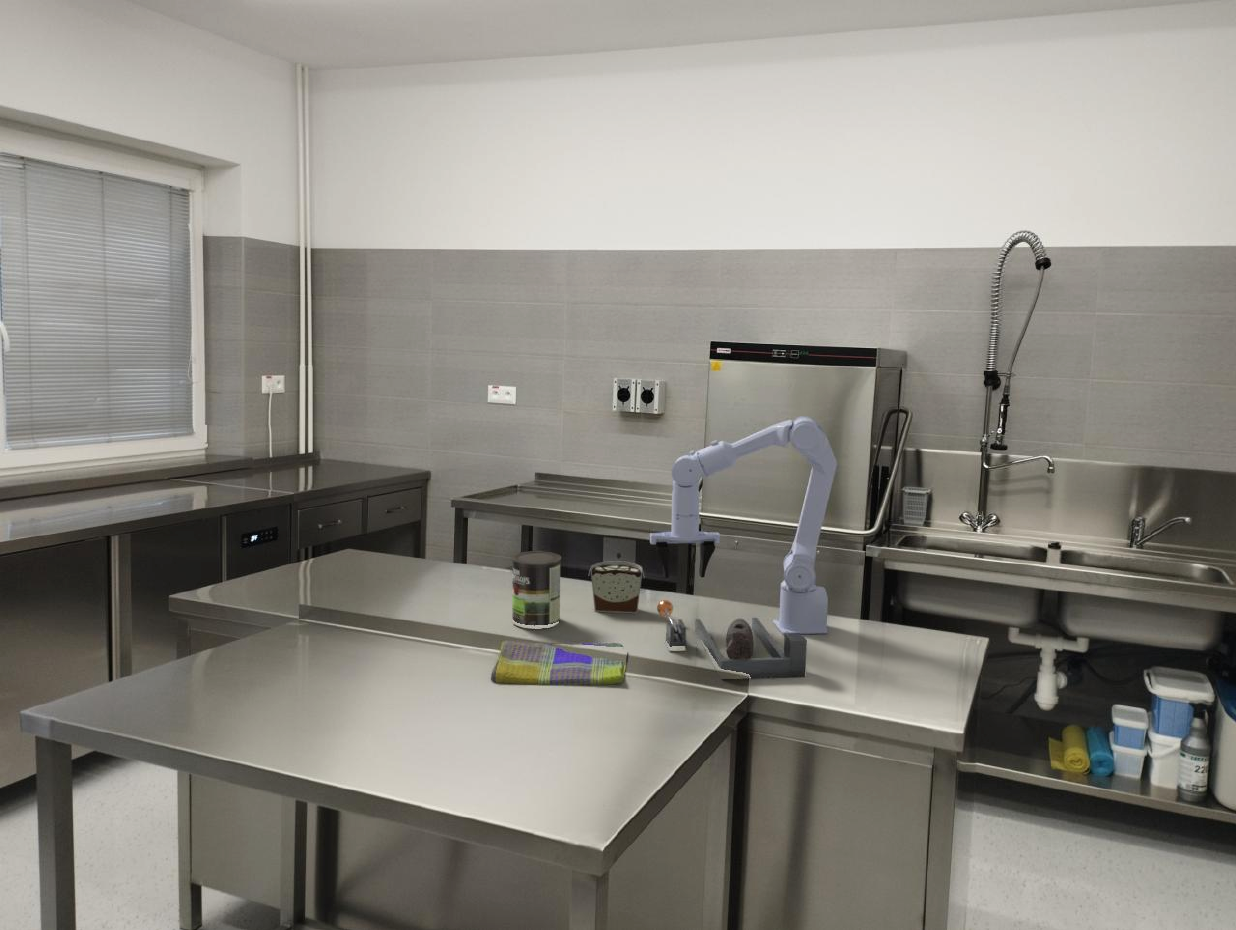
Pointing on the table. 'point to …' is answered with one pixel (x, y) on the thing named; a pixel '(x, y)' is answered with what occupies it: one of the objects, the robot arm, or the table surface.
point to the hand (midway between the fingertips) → (683, 576)
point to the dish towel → (554, 666)
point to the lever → (667, 612)
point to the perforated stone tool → (739, 640)
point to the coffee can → (536, 588)
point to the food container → (616, 586)
